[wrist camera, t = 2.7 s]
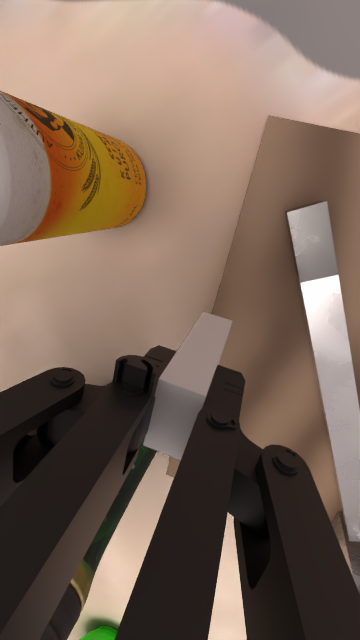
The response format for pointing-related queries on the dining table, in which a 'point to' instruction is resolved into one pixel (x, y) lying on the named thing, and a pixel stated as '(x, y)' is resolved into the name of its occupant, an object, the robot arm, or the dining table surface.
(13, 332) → the dining table surface
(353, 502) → the arm
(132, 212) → the beer can
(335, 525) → the grey l-shaped bar
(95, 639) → the plastic bottle
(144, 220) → the dining table surface
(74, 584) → the coffee jar
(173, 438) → the robot arm
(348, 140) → the cutting board
